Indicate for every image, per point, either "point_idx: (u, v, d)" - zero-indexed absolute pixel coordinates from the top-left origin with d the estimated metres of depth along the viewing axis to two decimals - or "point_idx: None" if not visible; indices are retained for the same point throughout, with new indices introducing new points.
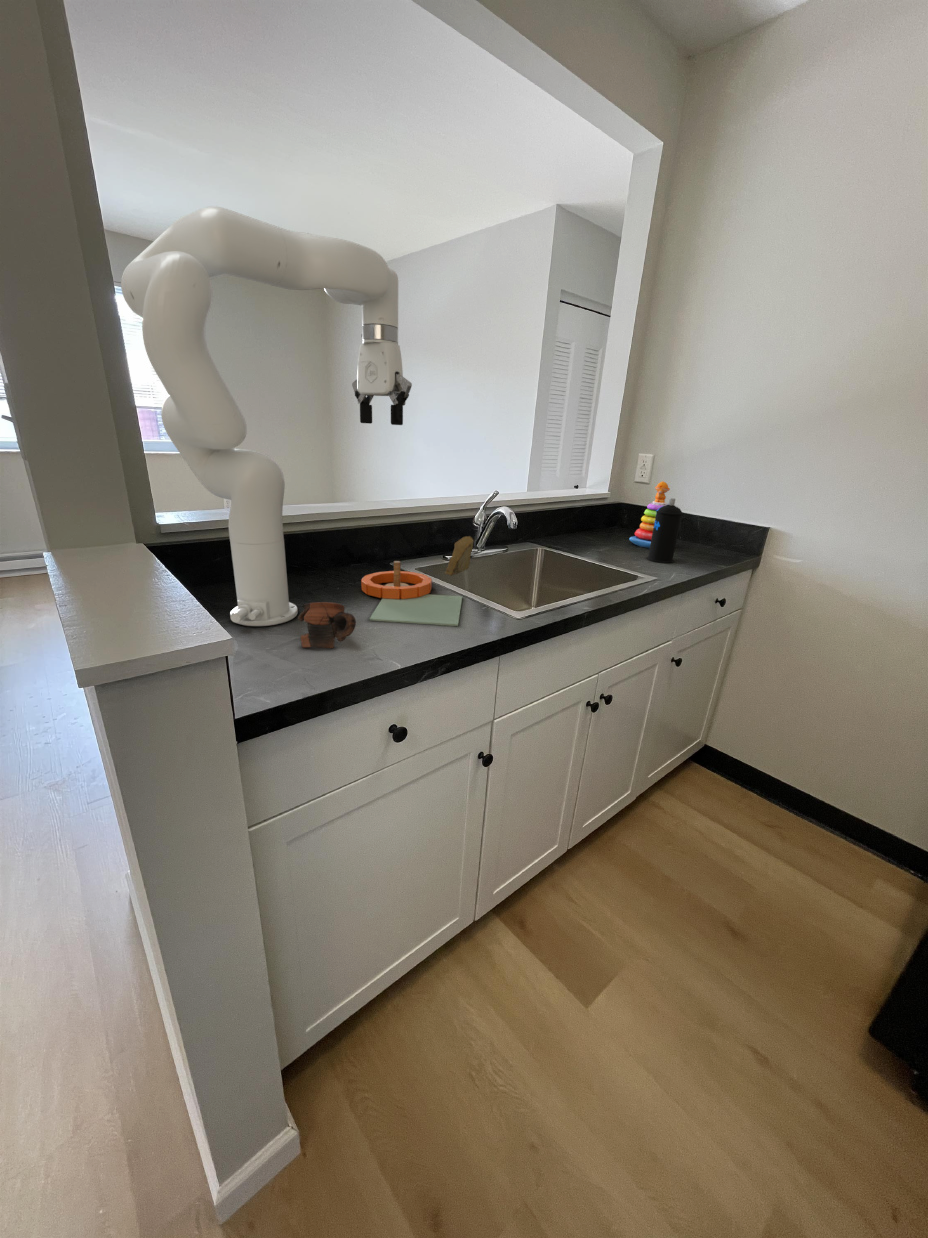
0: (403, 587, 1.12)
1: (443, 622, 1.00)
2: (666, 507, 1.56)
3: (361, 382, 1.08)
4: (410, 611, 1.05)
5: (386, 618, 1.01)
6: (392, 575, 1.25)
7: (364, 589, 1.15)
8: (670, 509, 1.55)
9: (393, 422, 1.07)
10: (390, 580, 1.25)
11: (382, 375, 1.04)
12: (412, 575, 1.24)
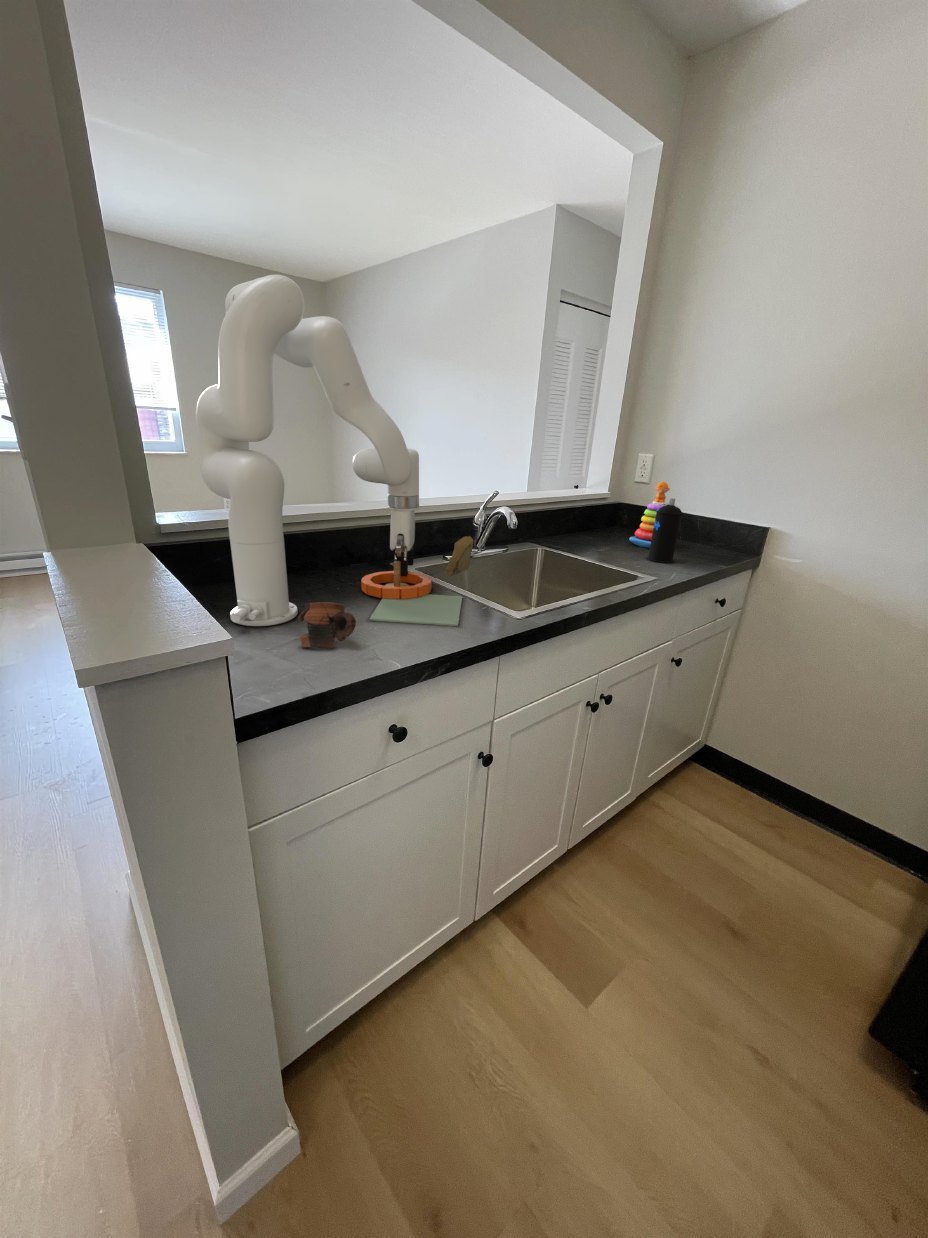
0: (403, 587, 1.12)
1: (443, 622, 1.00)
2: (666, 507, 1.56)
3: None
4: (410, 611, 1.05)
5: (386, 618, 1.01)
6: (392, 575, 1.25)
7: (364, 589, 1.15)
8: (670, 509, 1.55)
9: None
10: (390, 580, 1.25)
11: None
12: (412, 575, 1.24)
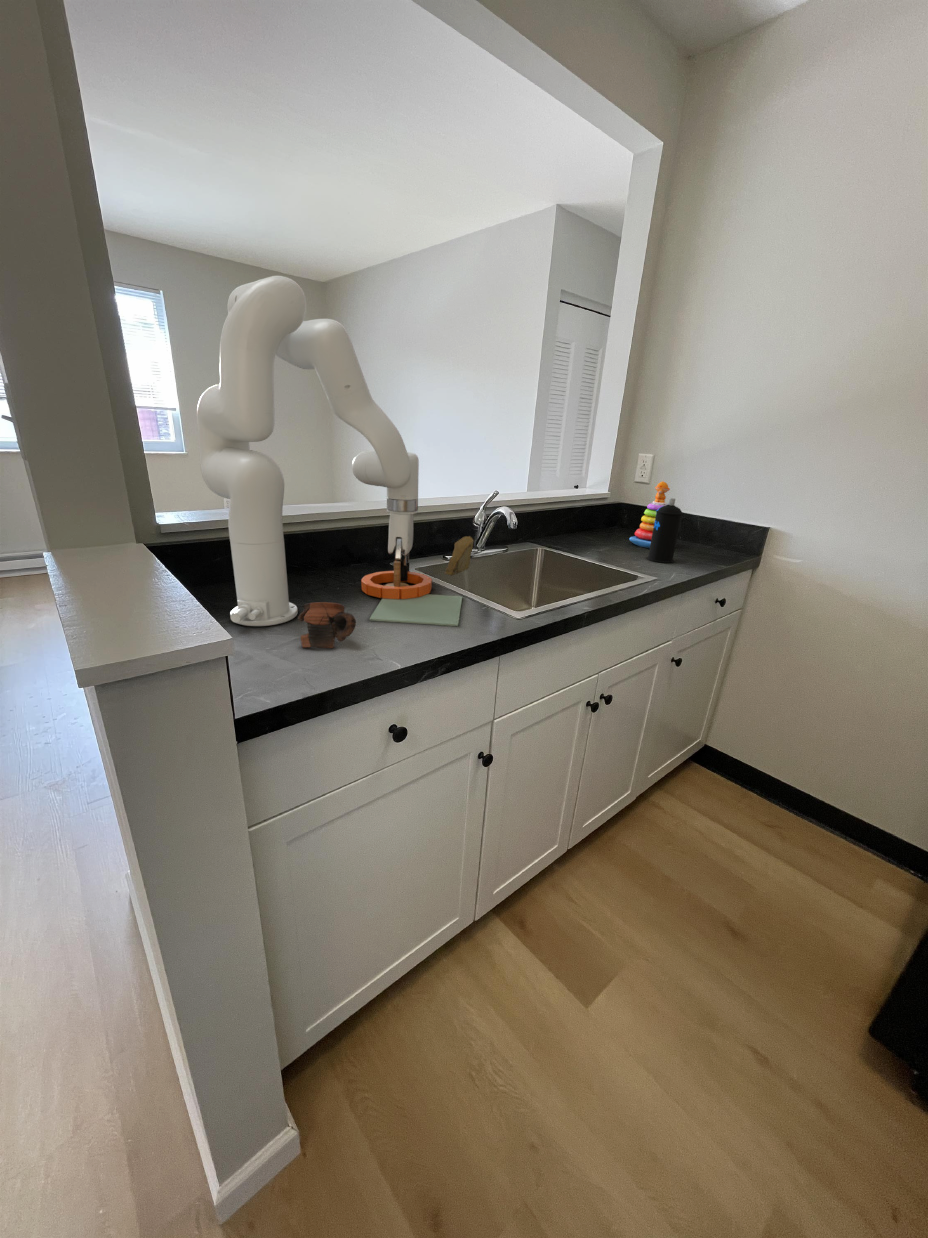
0: (403, 587, 1.12)
1: (443, 622, 1.00)
2: (666, 507, 1.56)
3: None
4: (410, 611, 1.05)
5: (386, 618, 1.01)
6: (392, 575, 1.25)
7: (364, 589, 1.15)
8: (670, 509, 1.55)
9: None
10: (390, 580, 1.25)
11: None
12: (412, 575, 1.24)
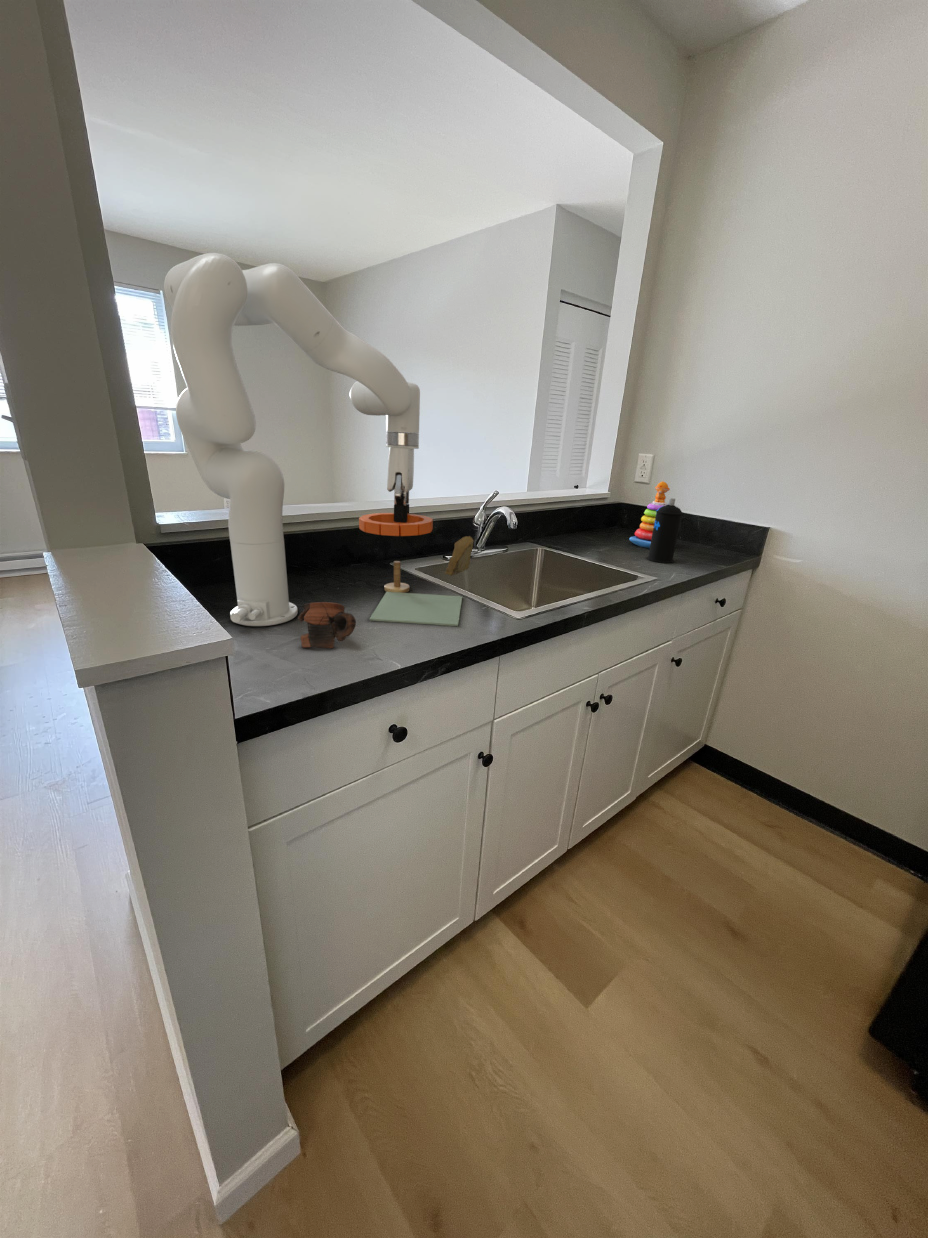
0: (403, 524, 1.07)
1: (443, 622, 1.00)
2: (666, 507, 1.56)
3: None
4: (410, 611, 1.05)
5: (386, 618, 1.01)
6: (392, 517, 1.19)
7: (362, 527, 1.10)
8: (670, 509, 1.55)
9: (394, 520, 1.19)
10: (389, 522, 1.19)
11: None
12: (412, 516, 1.19)
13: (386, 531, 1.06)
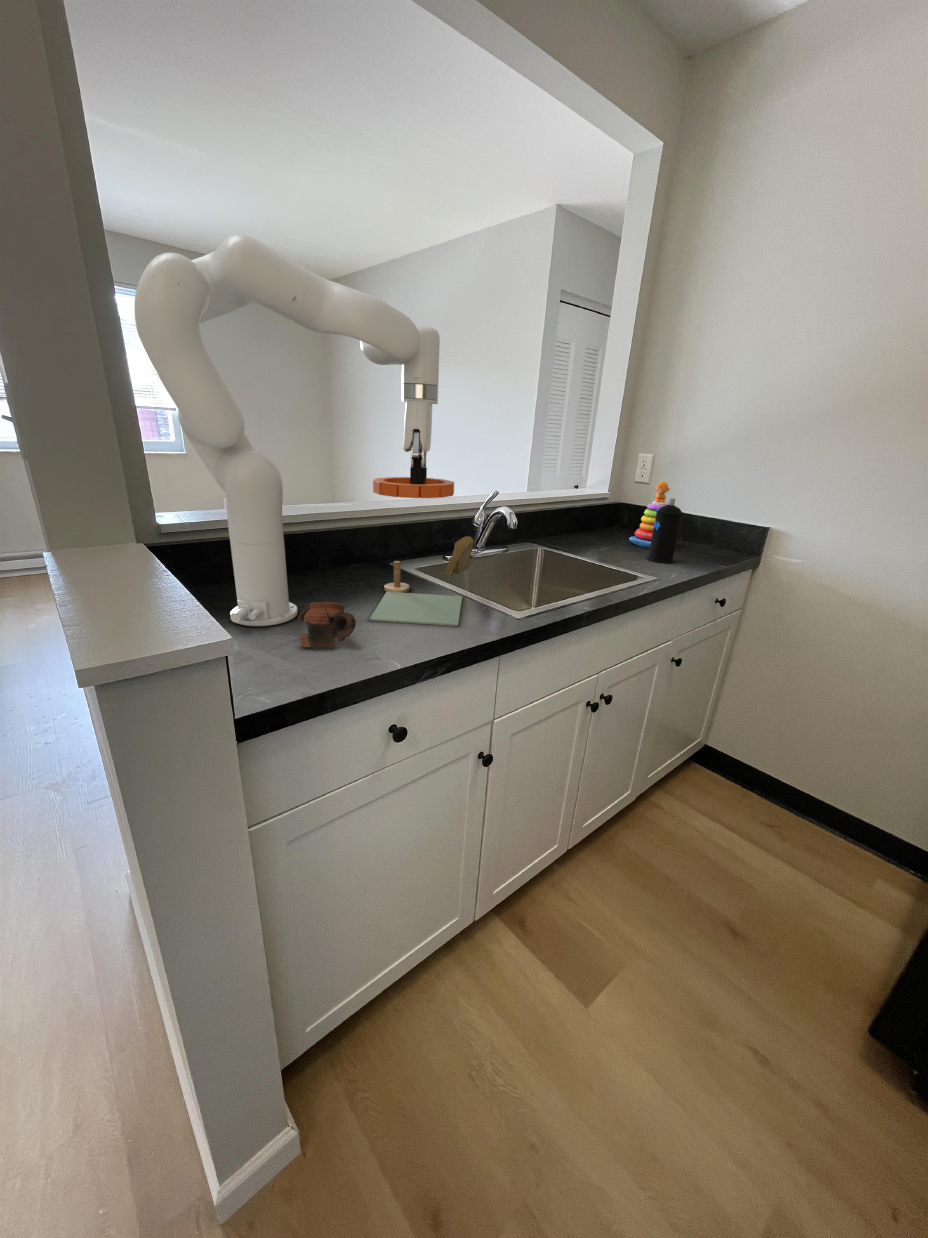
0: (423, 484, 0.96)
1: (443, 622, 1.00)
2: (666, 507, 1.56)
3: None
4: (410, 611, 1.05)
5: (386, 618, 1.01)
6: (408, 481, 1.08)
7: (377, 489, 0.99)
8: (670, 509, 1.55)
9: None
10: None
11: None
12: (431, 480, 1.07)
13: (404, 493, 0.95)
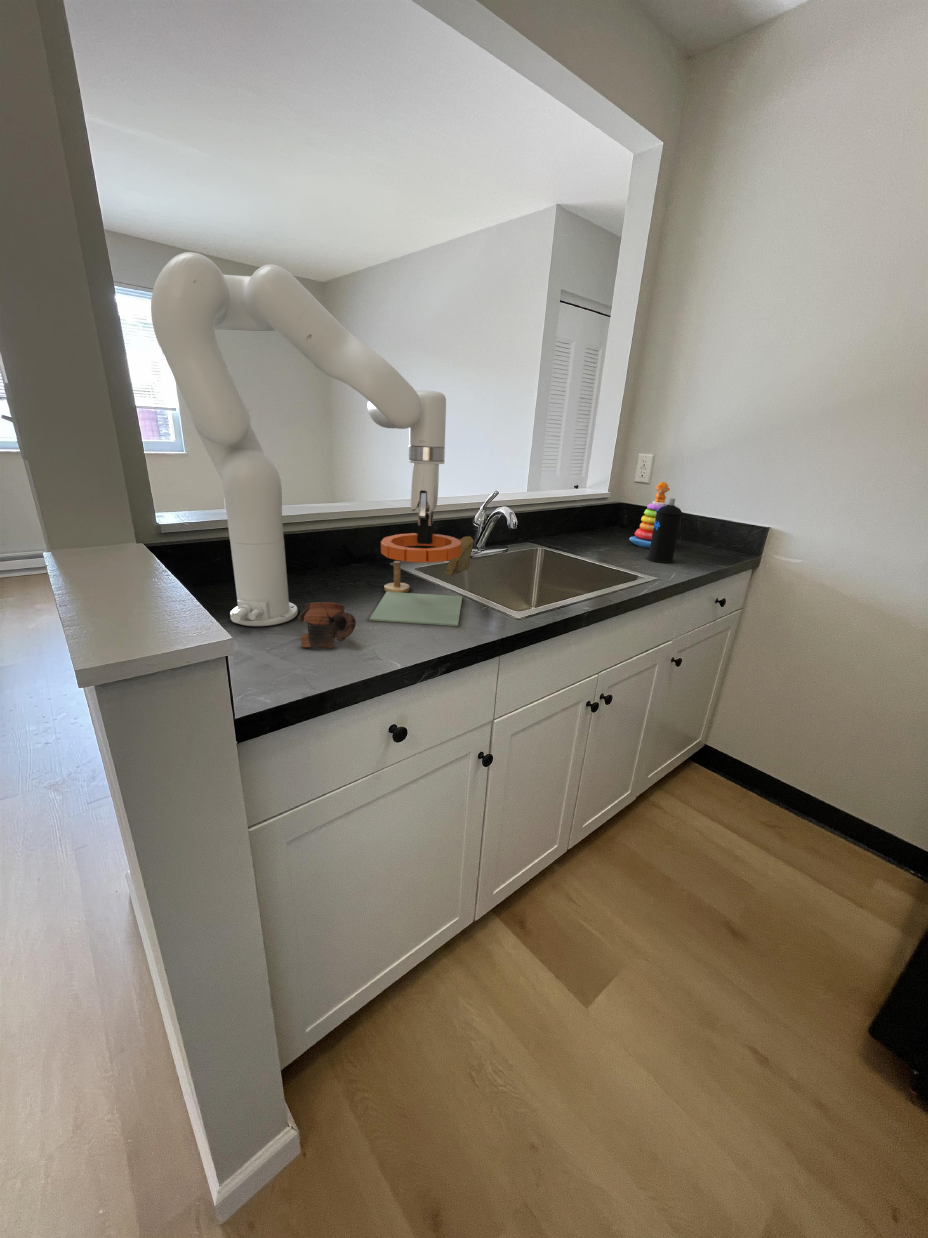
0: (430, 549, 0.97)
1: (443, 622, 1.00)
2: (666, 507, 1.56)
3: None
4: (410, 611, 1.05)
5: (386, 618, 1.01)
6: (415, 538, 1.09)
7: (384, 552, 1.00)
8: (670, 509, 1.55)
9: (418, 541, 1.09)
10: (412, 543, 1.09)
11: None
12: (438, 537, 1.08)
13: (412, 557, 0.96)
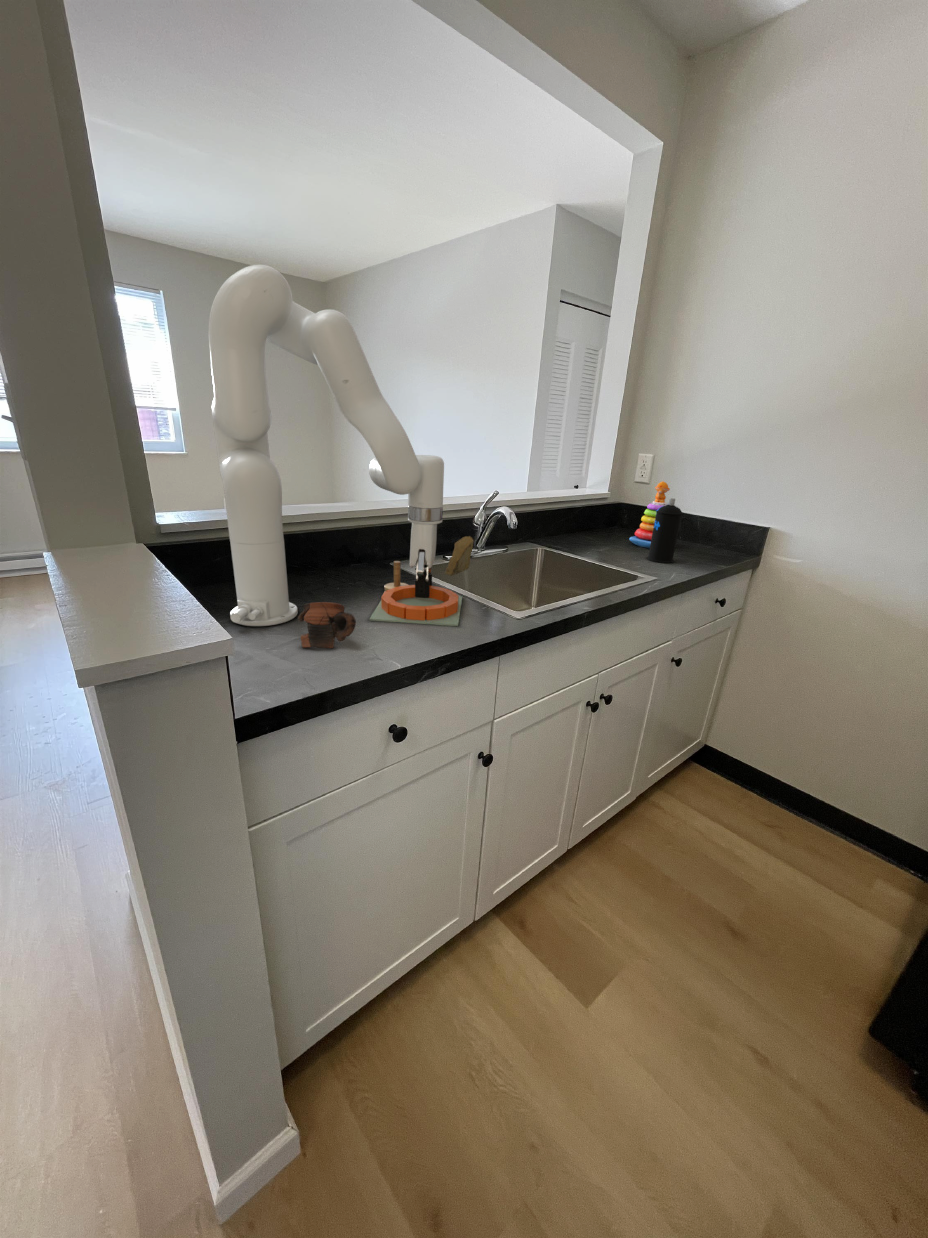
0: (429, 607, 1.01)
1: (443, 622, 1.00)
2: (666, 507, 1.56)
3: None
4: None
5: (386, 618, 1.01)
6: (414, 590, 1.13)
7: (385, 608, 1.04)
8: (670, 509, 1.55)
9: (416, 595, 1.12)
10: (411, 595, 1.13)
11: None
12: (436, 590, 1.13)
13: (411, 615, 1.00)
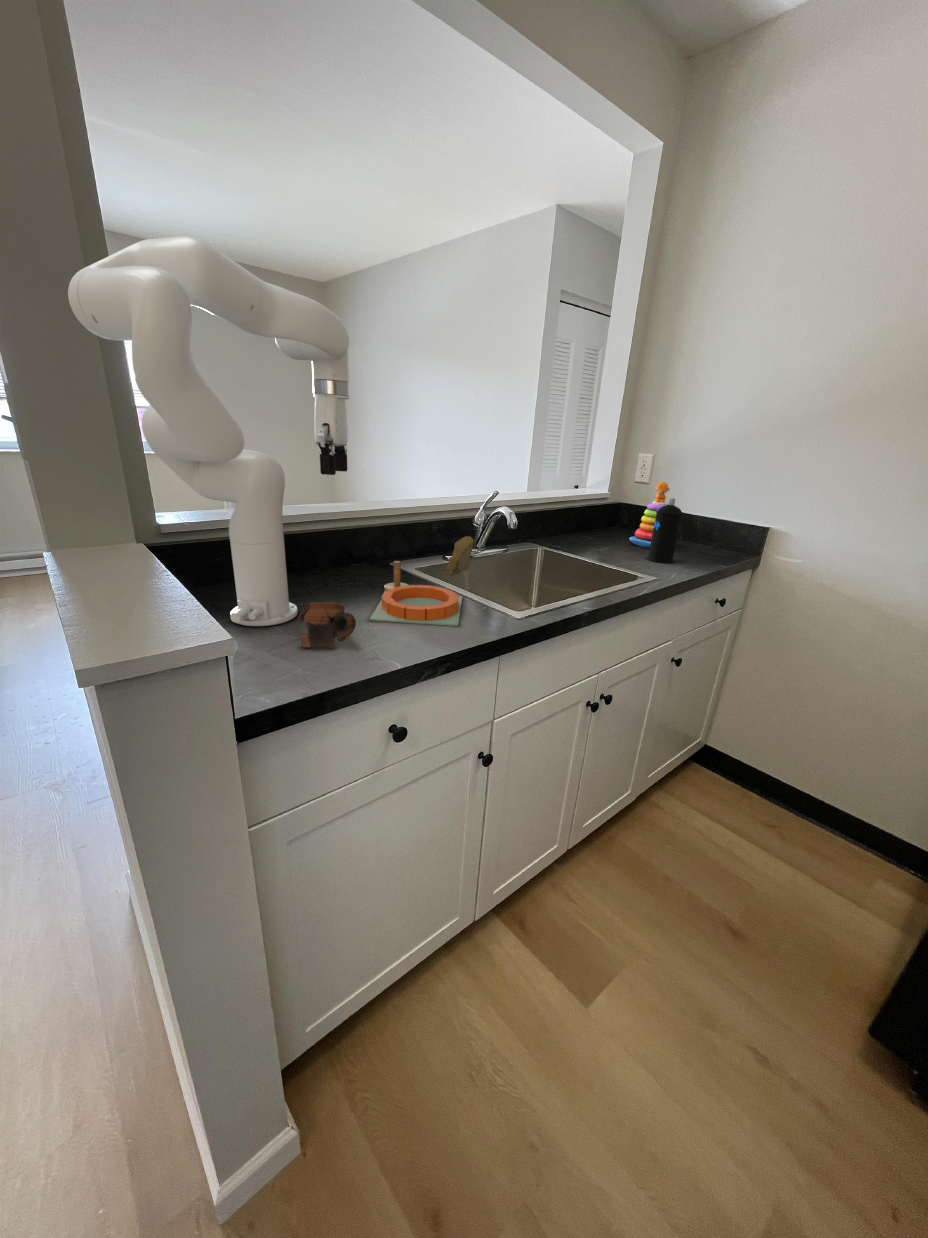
0: (429, 607, 1.01)
1: (443, 622, 1.00)
2: (666, 507, 1.56)
3: None
4: None
5: (386, 618, 1.01)
6: (414, 590, 1.13)
7: (385, 608, 1.04)
8: (670, 509, 1.55)
9: (321, 472, 1.09)
10: (411, 595, 1.13)
11: None
12: (436, 590, 1.13)
13: (411, 615, 1.00)
